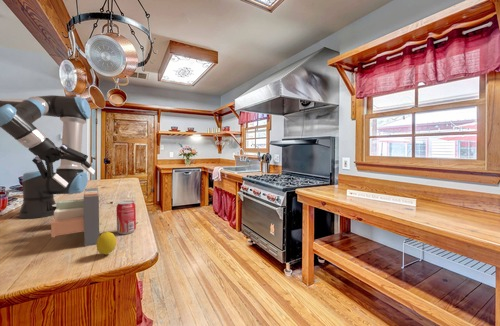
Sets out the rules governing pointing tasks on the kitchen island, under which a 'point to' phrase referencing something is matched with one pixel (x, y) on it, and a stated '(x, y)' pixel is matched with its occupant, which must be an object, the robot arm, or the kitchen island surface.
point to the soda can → (126, 217)
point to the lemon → (106, 243)
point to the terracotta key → (67, 226)
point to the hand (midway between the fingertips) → (80, 179)
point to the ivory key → (68, 213)
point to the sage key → (70, 204)
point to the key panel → (91, 216)
